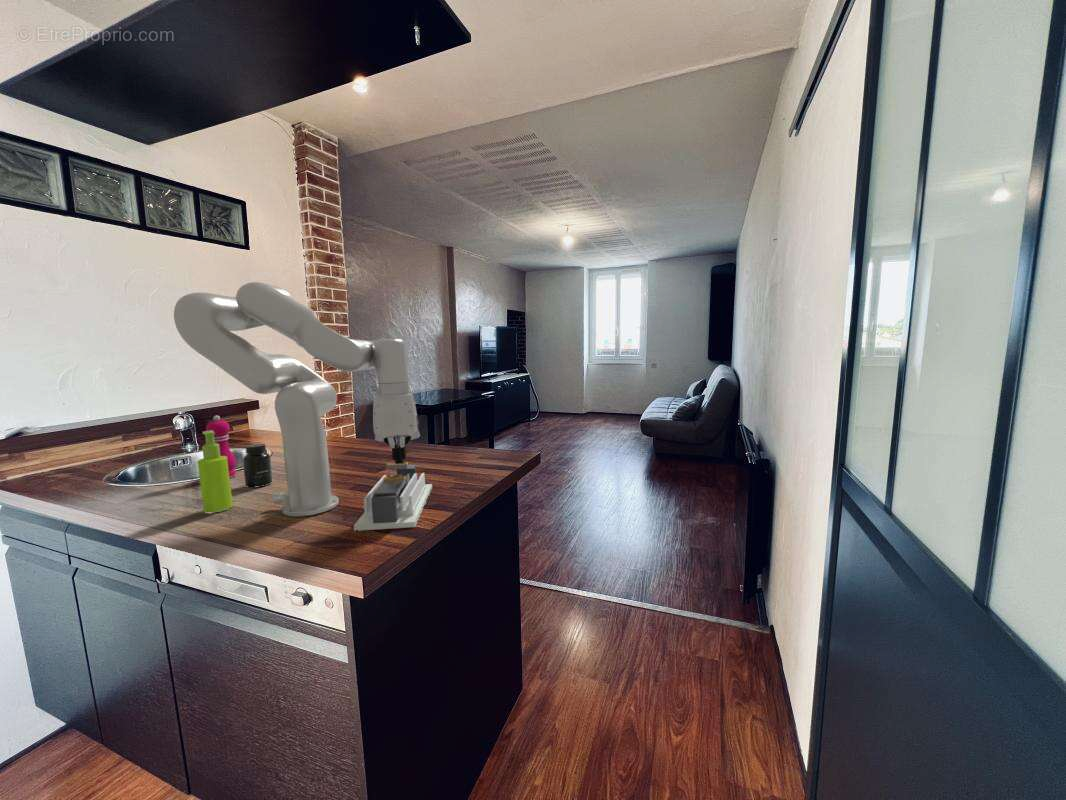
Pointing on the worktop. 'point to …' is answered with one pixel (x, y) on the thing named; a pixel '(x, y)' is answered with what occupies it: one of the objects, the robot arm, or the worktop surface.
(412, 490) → the heatsink board
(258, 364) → the robot arm
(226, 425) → the pepper mill
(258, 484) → the supplement bottle
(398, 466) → the grey green rectangular plate
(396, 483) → the grey flat block
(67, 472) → the worktop surface
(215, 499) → the soap dispenser
